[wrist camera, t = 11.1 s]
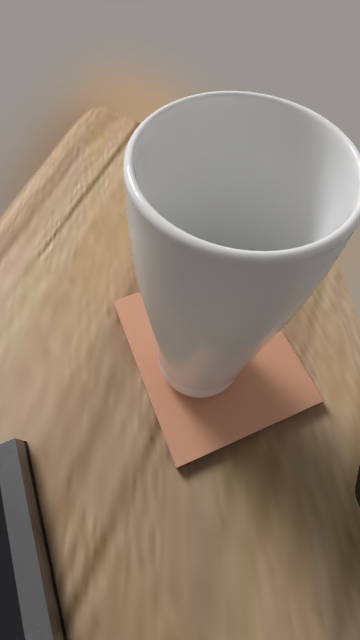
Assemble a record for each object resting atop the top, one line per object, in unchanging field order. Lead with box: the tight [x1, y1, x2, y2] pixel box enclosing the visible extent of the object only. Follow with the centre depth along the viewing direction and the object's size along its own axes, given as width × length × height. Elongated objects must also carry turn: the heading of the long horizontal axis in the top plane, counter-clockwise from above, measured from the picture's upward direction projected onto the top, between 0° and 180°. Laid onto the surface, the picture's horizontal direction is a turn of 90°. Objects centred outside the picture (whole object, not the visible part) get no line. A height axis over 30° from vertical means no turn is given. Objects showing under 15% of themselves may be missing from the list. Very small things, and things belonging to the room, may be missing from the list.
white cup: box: [123, 91, 360, 398], centre depth 16 cm, size 7×7×15 cm
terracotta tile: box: [113, 292, 324, 468], centre depth 23 cm, size 12×10×1 cm
